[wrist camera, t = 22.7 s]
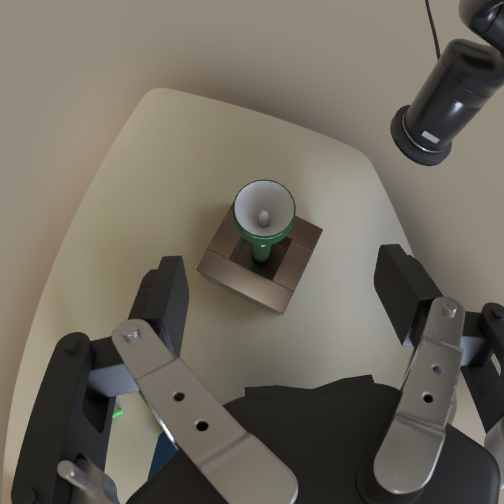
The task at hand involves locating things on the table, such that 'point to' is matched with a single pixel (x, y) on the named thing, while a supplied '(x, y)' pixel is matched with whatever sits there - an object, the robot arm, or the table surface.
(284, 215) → the flashlight
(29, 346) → the table surface
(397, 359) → the table surface
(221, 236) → the holder
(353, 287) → the table surface
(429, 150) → the robot arm
